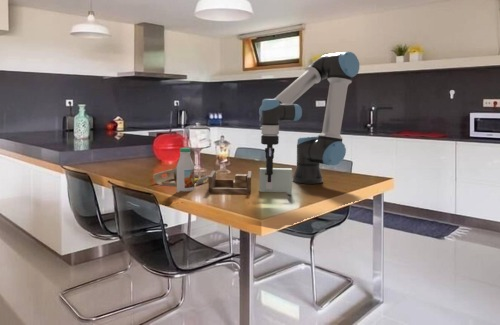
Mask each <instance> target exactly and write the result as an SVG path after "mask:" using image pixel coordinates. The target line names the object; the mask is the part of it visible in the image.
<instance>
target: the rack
mask: <svg viewBox="0 0 500 325" xmlns="http://www.w3.org/2000/svg"><path fill="white" fill-rule="evenodd" d="M216 174H217V171H216V170H211V173H210V174H208V175H209V177H208V178H209V181H208V194H236V195H237V194H238V195H239V194H240V195H243V194H246V195H251V194H252V171H251V170H248V171H247V188H233V180H235V178H234V179H233V178H232V179H231V178H229V179H228V178H226V179H224V178H223V179H222V178H221V179H220V178H219V179H217V175H216ZM208 178H207V179H208Z"/></svg>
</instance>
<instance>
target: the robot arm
mask: <svg viewBox="0 0 500 325" xmlns="http://www.w3.org/2000/svg"><path fill="white" fill-rule="evenodd" d="M359 71H360V61H359V58H358V56H357V55H356V54H355V53H353V52H352V51H341V52H335V53H327V54H324V55H322V56H320V57H318V58H317V59H316V60H314V61H313V62H311V63H310V64H309V65H308V66H307V67H306V68H305V69H304V72H303V73H302V74H301V75H300V76H299V77H298V78H296V79H295V80H294V81H293V82H292V83H290V84H289V85H288V86H287V87H286V88H284V89H283V90H282V91H281V92H280V93H279V94H277V95H276V97H274V98H264V99H262V101H261V105H260V107H259V110H258V114H259V117H260V118H261V126H260V127H259V129H260V130H261V137H260V138H261V139H260V140H261V141H260V144H262V145H266V147H265V148H264V152H265V161H266V162H265V168H267V173H265V175H266V189H272V176H273V175H272V174H273V168H274V167H273V166H274V157H275V154H274V153H275V148H274V147H273V146H276V145H278V144H279V143H280V142H279V139H280V136H279V134H280V122H295V121H296V122H297V121H299V120H300V119H301V118H302V115H303V109H302V106H300V104H296V103H295V101H297V100H298V99H300V97H302V96H303V95H304V94H305V93H306V92H307V91H308V90H309V89H310V88H312V87H313V86H314V85H315V84H319V83H320V82H321V81H323V80H326V79H327V81H328V83H329V87H328V93H327V100H326V105H325V112H324V117H323V118H324V119H323V124H322V130H321V131H322V132H321V133H320V134H318V135H317V136H305V137H304V136H303V137H299V138H298V139H297V142H296V166H295V170H294V172H293V174H292V182H295V183H297V184H298V183H299V184H308V185H309V184H310V185H312V184H313V185H315V184H321V183H323V175H322V174H323V173H322V172H321V171H322V170H321V167H320V164H322V165H325V166H337V165H339V164H341V162H342V161H343V160H344V159H345V156H346V152H347V149H346V145H345V144H344V143H343V136H341V131H342V130H341V129H342V124H343V119H344V114H345V112H344V111H345V105H346V99H347V93H348V87H349V85H350V84H352V82H353V77H355V76H357V74H359Z"/></svg>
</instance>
